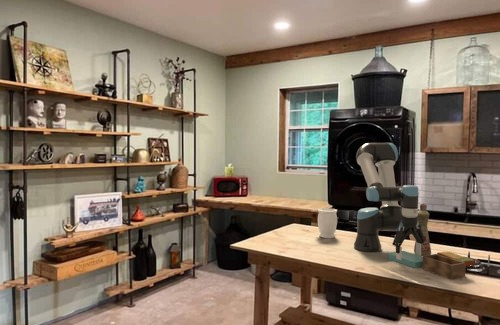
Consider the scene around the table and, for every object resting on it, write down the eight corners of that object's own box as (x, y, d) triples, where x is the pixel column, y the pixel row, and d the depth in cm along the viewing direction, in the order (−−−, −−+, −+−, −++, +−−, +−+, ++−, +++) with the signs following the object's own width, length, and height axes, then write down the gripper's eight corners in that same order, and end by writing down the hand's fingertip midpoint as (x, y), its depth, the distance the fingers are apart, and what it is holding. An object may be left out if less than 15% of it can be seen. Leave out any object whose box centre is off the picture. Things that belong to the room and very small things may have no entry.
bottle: (434, 254, 198) (435, 203, 197) (427, 257, 193) (428, 205, 191) (418, 250, 205) (419, 201, 204) (411, 253, 199) (411, 203, 198)
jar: (313, 235, 241) (313, 208, 240) (328, 233, 246) (328, 207, 246) (326, 239, 229) (326, 211, 229) (341, 237, 235) (341, 210, 234)
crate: (422, 270, 171) (422, 256, 171) (435, 268, 175) (435, 253, 175) (451, 281, 158) (452, 265, 157) (465, 278, 161) (465, 262, 161)
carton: (449, 259, 191) (449, 251, 191) (475, 268, 175) (476, 260, 175) (436, 260, 189) (436, 252, 188) (462, 270, 173) (462, 261, 173)
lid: (387, 259, 188) (388, 253, 188) (403, 257, 193) (403, 250, 193) (415, 269, 173) (415, 262, 173) (431, 266, 177) (431, 259, 177)
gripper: (397, 219, 173) (396, 263, 174) (433, 215, 184) (432, 256, 185) (385, 216, 180) (384, 258, 181) (420, 212, 190) (419, 252, 192)
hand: (408, 257), depth 183 cm, fingers open, 13 cm apart
